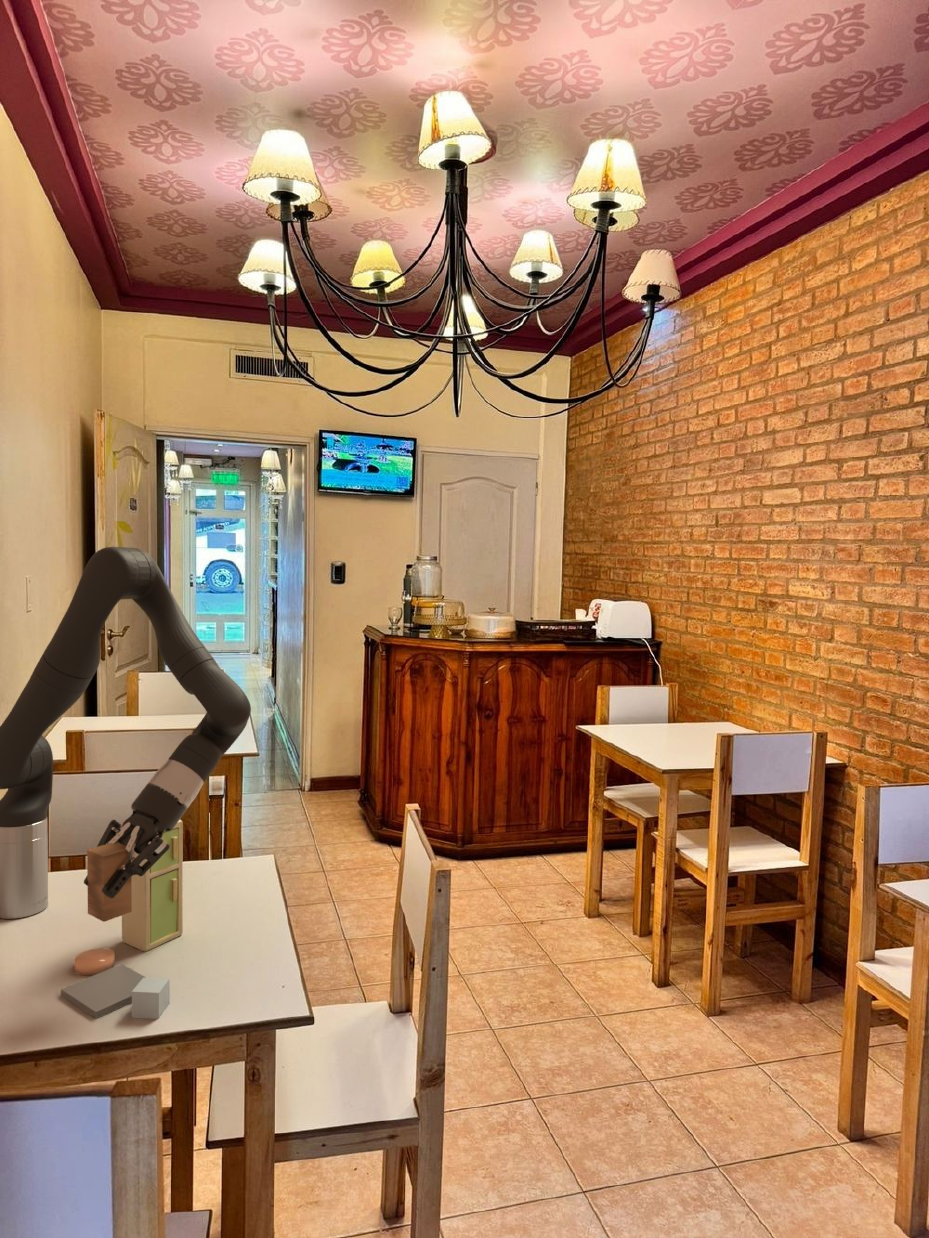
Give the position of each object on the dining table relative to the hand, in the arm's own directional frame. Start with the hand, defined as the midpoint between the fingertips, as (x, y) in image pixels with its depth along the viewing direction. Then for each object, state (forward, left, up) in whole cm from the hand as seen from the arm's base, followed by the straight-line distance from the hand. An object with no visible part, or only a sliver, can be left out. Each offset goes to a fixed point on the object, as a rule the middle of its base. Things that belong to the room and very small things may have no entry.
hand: (97, 890), depth 122 cm
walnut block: (+1, +2, -4) cm, 5 cm away
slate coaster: (+1, +2, -17) cm, 17 cm away
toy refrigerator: (-4, +19, -17) cm, 26 cm away
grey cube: (+10, 0, -17) cm, 20 cm away
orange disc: (-7, +8, -17) cm, 20 cm away
